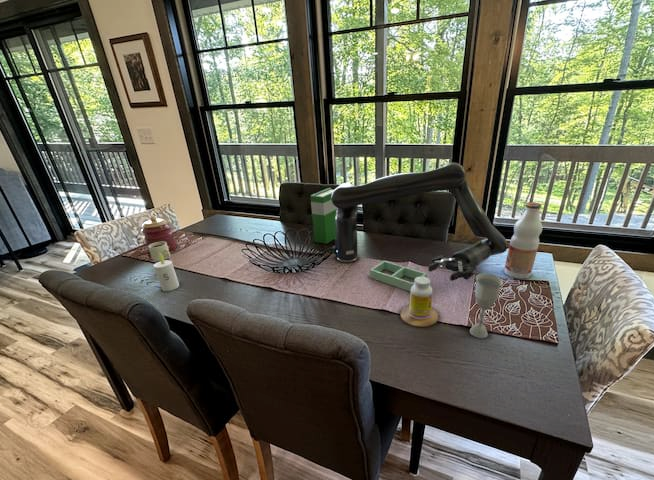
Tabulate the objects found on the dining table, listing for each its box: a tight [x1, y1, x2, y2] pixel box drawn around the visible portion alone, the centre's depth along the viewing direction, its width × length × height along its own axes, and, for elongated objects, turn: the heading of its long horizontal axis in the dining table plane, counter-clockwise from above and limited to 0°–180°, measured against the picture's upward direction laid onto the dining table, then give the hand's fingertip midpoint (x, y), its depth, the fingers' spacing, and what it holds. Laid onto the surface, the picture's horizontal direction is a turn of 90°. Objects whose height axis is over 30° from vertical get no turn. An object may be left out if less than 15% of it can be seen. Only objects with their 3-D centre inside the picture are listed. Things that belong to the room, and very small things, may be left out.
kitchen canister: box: [140, 216, 177, 253], centre depth 157 cm, size 13×13×18 cm
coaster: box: [399, 304, 439, 328], centre depth 101 cm, size 12×12×1 cm
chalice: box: [469, 273, 504, 339], centre depth 88 cm, size 7×7×18 cm
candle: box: [153, 252, 180, 292], centre depth 122 cm, size 6×6×15 cm
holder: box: [369, 260, 428, 293], centre depth 122 cm, size 20×10×4 cm, turn 50°
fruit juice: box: [503, 201, 544, 280], centre depth 117 cm, size 9×9×28 cm
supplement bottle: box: [409, 276, 434, 320], centre depth 98 cm, size 7×7×13 cm
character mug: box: [147, 242, 171, 263], centre depth 135 cm, size 11×7×13 cm, turn 67°
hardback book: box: [309, 187, 337, 245], centre depth 161 cm, size 18×7×24 cm, turn 150°
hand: (439, 273), depth 103 cm, fingers open, 8 cm apart
